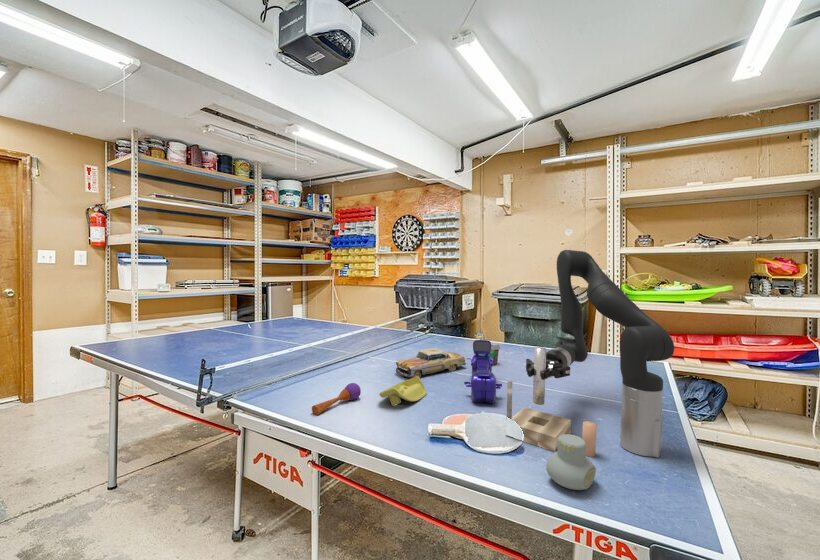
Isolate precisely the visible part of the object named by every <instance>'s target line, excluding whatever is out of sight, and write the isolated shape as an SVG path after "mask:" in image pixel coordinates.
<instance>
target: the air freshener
mask: <svg viewBox="0 0 820 560" xmlns="http://www.w3.org/2000/svg"><path fill="white" fill-rule="evenodd" d="M545 470H546V472H547V475H548V476H549V478H551V480H552V481H553V482H554V483H556V484H557V485H559V486H561V487H563V488H566V489H570V490H574V491H583V490H588V488H590V487H591V485H592V483H594V479H595V477H596V473H597V469H596V466H595V465H594V463H593V462H592V461H591V459H589V458H588V457H587V456H586V443H585V441H584V440H583V439H582V437H580V436H577V435H574V434H571V433H570V434H564V435H561V436H559V437H558V449H557V450H556V451H555V452H553V453H552V454H551V455H550V456H549V458H548V460H547V462H546V466H545Z"/></svg>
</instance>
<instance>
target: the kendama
mask: <svg viewBox="0 0 820 560" xmlns="http://www.w3.org/2000/svg"><path fill="white" fill-rule="evenodd" d="M361 392H362V391H361V387H360V385H359V384H357V383H355V382H351V383H348V384H347V385H346V386H345V387H344V388H343V389H342V390H341V391H340V393H339V395H338V396H337V397H334V398H332V399H329V400H326V401H323V402H319V403H316V404H313V405H312V406H311V412H312V414H313V415H315V416H318V415H320V414H321V413H323V412H324V411H326V410H327V409H328V408H330V407H332V406H333V405H334V404H336V403H337V402H338V401H346V402H347V401H355V400H357V399H359V397H360V396H361V394H362V393H361Z"/></svg>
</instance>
